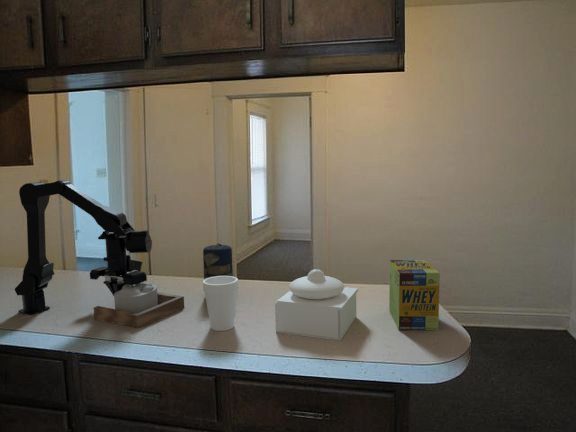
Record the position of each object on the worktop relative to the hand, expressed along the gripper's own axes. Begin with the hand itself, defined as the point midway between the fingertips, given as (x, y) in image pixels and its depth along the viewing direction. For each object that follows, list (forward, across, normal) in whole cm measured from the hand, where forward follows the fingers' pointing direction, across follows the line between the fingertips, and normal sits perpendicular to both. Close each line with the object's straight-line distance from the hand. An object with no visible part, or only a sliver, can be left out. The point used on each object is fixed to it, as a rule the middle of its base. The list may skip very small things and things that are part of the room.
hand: (119, 302), depth 140 cm
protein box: (+2, -84, -26) cm, 88 cm away
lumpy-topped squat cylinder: (+2, -8, 0) cm, 8 cm away
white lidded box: (+2, -61, -13) cm, 63 cm away
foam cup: (+2, -38, -1) cm, 38 cm away
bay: (+2, -8, 0) cm, 8 cm away
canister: (+2, -21, -23) cm, 31 cm away
